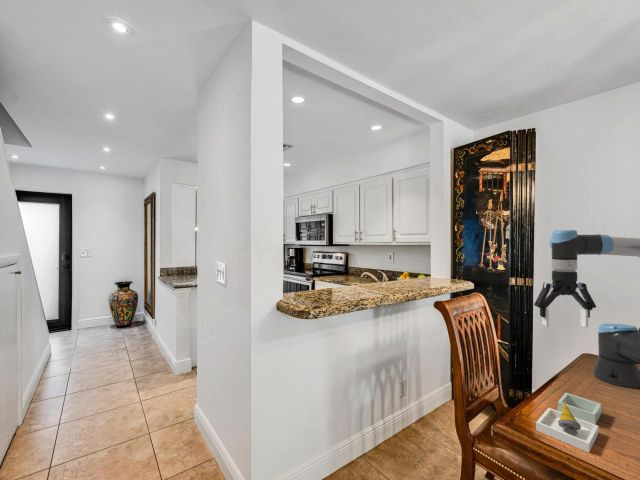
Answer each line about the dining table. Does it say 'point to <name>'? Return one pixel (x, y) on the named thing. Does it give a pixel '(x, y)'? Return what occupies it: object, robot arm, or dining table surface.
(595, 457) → the dining table surface
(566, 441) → the tray
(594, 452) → the dining table surface
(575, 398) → the pale green square frame
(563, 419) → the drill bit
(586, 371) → the dining table surface
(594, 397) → the dining table surface
